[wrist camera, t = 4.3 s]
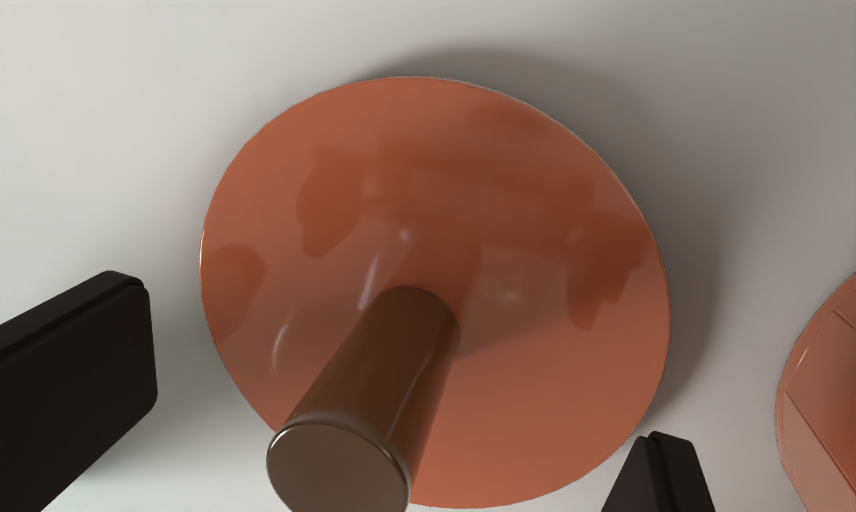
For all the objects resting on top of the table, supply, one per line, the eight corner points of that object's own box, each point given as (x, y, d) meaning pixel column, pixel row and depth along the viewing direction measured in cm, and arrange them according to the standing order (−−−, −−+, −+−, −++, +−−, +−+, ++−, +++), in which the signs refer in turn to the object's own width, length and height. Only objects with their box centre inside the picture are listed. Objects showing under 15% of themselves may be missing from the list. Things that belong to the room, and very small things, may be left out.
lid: (222, 412, 18) (61, 587, 12) (225, 28, 12) (-56, 8, 7) (576, 527, 16) (590, 797, 10) (749, 138, 11) (979, 237, 5)
